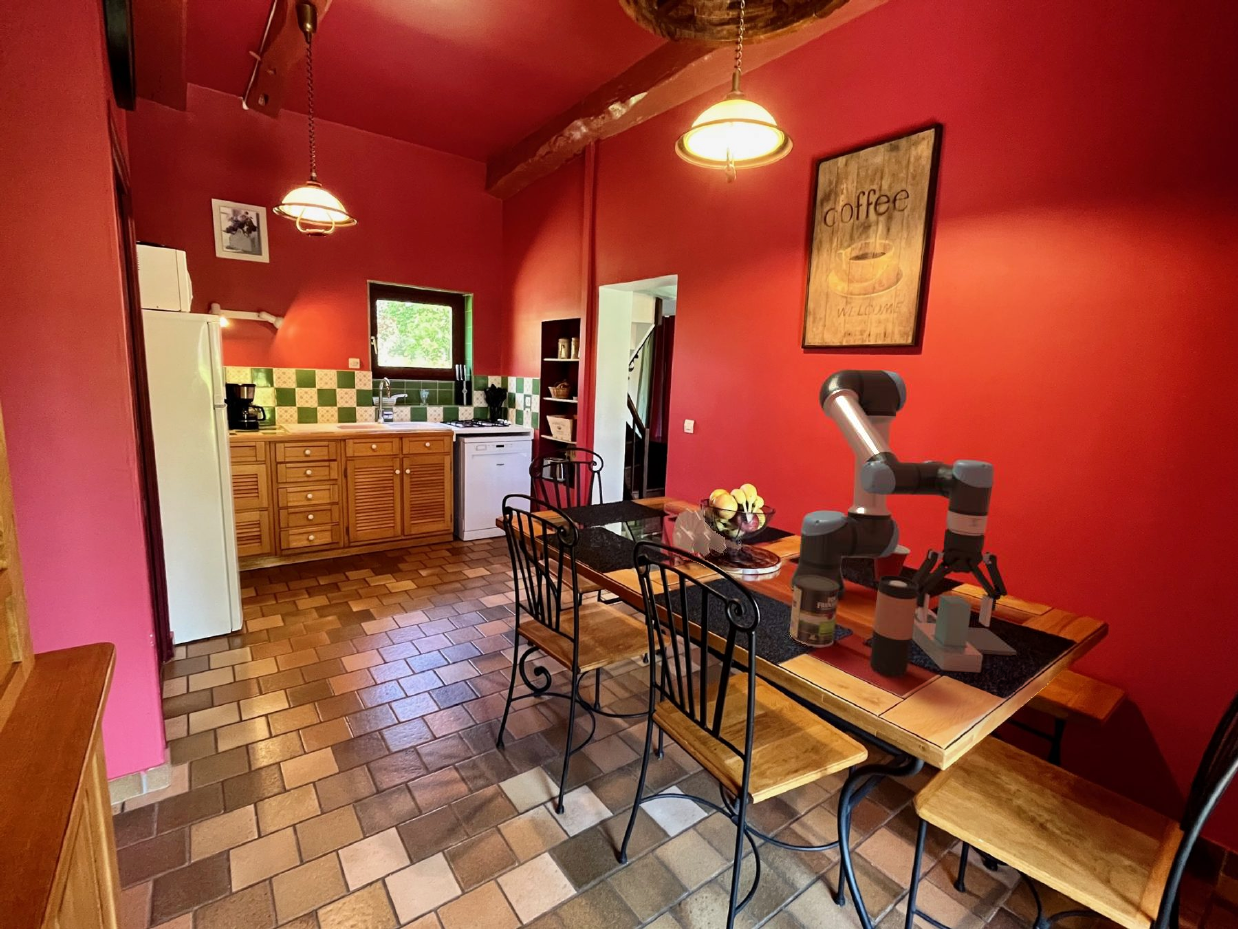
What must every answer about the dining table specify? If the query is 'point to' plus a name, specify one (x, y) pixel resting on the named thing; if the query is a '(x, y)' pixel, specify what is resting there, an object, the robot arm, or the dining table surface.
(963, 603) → the gray rectangular box
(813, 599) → the coffee can
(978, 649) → the rubber mat
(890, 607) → the travel mug
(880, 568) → the plastic cup
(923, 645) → the block with square holes
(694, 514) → the spiral staircase
